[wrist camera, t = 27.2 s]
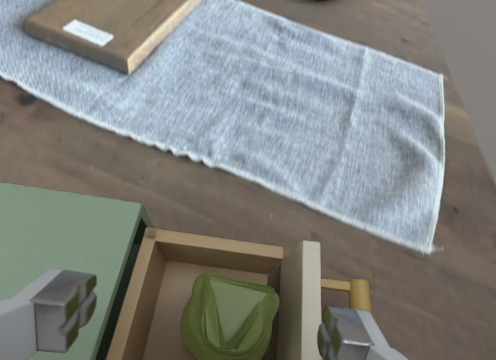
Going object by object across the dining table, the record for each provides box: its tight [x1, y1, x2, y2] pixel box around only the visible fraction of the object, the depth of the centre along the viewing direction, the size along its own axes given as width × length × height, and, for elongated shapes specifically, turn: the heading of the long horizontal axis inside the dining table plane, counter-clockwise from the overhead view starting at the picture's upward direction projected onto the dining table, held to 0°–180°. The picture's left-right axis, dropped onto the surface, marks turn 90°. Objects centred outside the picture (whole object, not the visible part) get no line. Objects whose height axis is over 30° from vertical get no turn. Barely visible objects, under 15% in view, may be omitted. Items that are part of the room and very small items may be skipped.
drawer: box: [106, 227, 372, 360], centre depth 19 cm, size 16×10×7 cm, turn 84°
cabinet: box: [0, 182, 156, 360], centre depth 18 cm, size 12×11×8 cm
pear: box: [180, 272, 280, 360], centre depth 16 cm, size 6×5×10 cm
